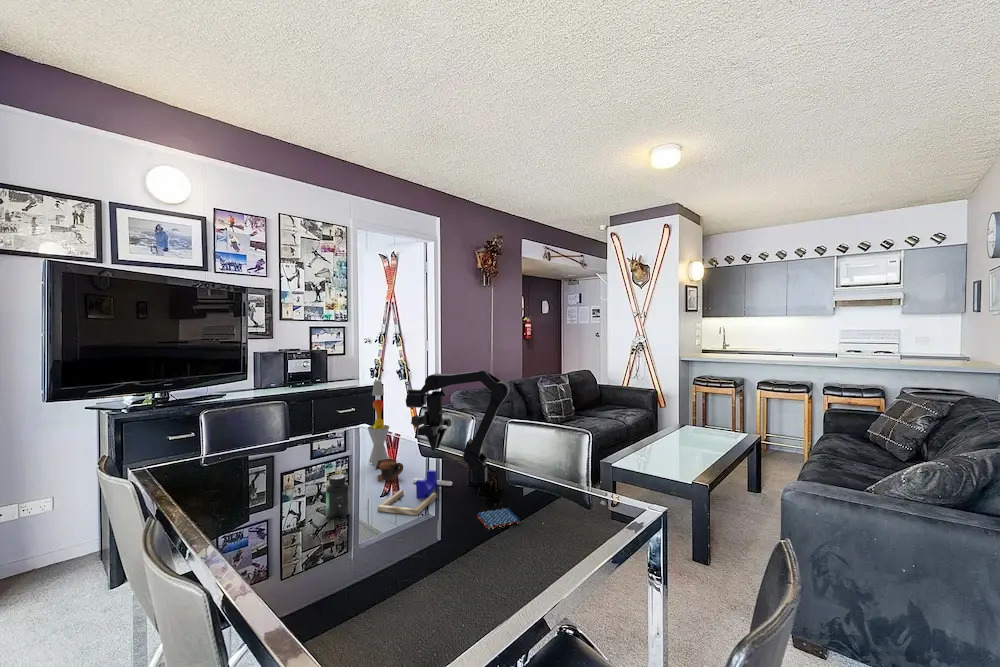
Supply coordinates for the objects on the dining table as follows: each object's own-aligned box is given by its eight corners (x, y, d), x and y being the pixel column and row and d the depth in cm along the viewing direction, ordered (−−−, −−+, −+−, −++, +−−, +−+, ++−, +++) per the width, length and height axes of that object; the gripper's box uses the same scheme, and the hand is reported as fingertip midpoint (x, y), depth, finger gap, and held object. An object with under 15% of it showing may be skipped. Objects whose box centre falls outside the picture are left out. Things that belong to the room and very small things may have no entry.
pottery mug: (369, 482, 176) (370, 460, 180) (383, 486, 184) (383, 465, 188) (398, 476, 173) (397, 454, 177) (410, 480, 181) (410, 459, 185)
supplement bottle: (325, 520, 140) (324, 481, 140) (327, 512, 147) (326, 474, 147) (349, 518, 142) (348, 478, 142) (350, 509, 149) (349, 472, 148)
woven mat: (475, 518, 142) (475, 511, 142) (508, 513, 146) (508, 506, 146) (486, 532, 132) (486, 525, 132) (521, 526, 136) (521, 519, 136)
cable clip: (425, 486, 170) (424, 469, 170) (436, 487, 169) (436, 470, 169) (412, 498, 158) (412, 480, 158) (424, 499, 158) (424, 481, 157)
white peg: (453, 485, 170) (453, 480, 170) (451, 486, 169) (451, 482, 169) (413, 481, 175) (413, 477, 174) (412, 483, 173) (411, 478, 173)
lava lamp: (366, 460, 203) (365, 380, 203) (387, 457, 207) (386, 378, 206) (370, 466, 195) (368, 382, 194) (391, 463, 199) (390, 380, 198)
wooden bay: (436, 497, 158) (436, 493, 158) (416, 515, 144) (416, 510, 144) (400, 494, 162) (400, 489, 162) (377, 511, 147) (377, 506, 147)
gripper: (425, 403, 185) (425, 442, 185) (403, 411, 167) (403, 454, 167) (451, 403, 182) (452, 443, 183) (432, 412, 164) (432, 456, 165)
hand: (435, 449), depth 174 cm, fingers open, 3 cm apart
